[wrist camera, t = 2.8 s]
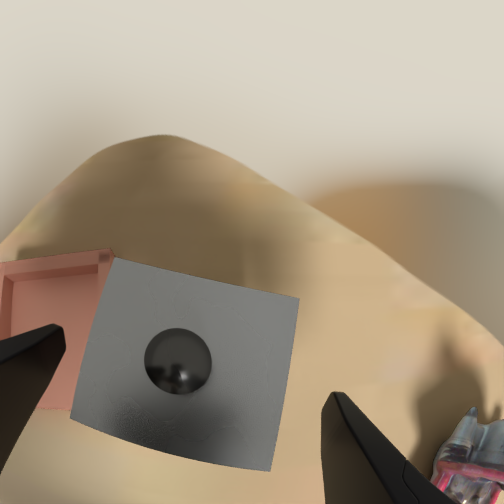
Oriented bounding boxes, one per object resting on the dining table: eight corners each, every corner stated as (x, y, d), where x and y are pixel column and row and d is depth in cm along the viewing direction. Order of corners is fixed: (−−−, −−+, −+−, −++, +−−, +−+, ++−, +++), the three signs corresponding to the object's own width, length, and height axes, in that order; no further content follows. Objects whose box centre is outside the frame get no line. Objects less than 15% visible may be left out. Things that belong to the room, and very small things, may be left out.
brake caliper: (384, 544, 11) (547, 462, 5) (396, 434, 20) (501, 341, 15) (467, 550, 9) (586, 479, 4) (465, 462, 19) (555, 389, 13)
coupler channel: (133, 409, 16) (123, 411, 14) (11, 404, 14) (-7, 402, 12) (122, 263, 20) (112, 247, 18) (12, 275, 18) (-4, 263, 16)
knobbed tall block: (235, 421, 16) (278, 482, 5) (155, 403, 16) (51, 420, 5) (248, 353, 18) (311, 285, 7) (171, 336, 18) (103, 239, 7)
